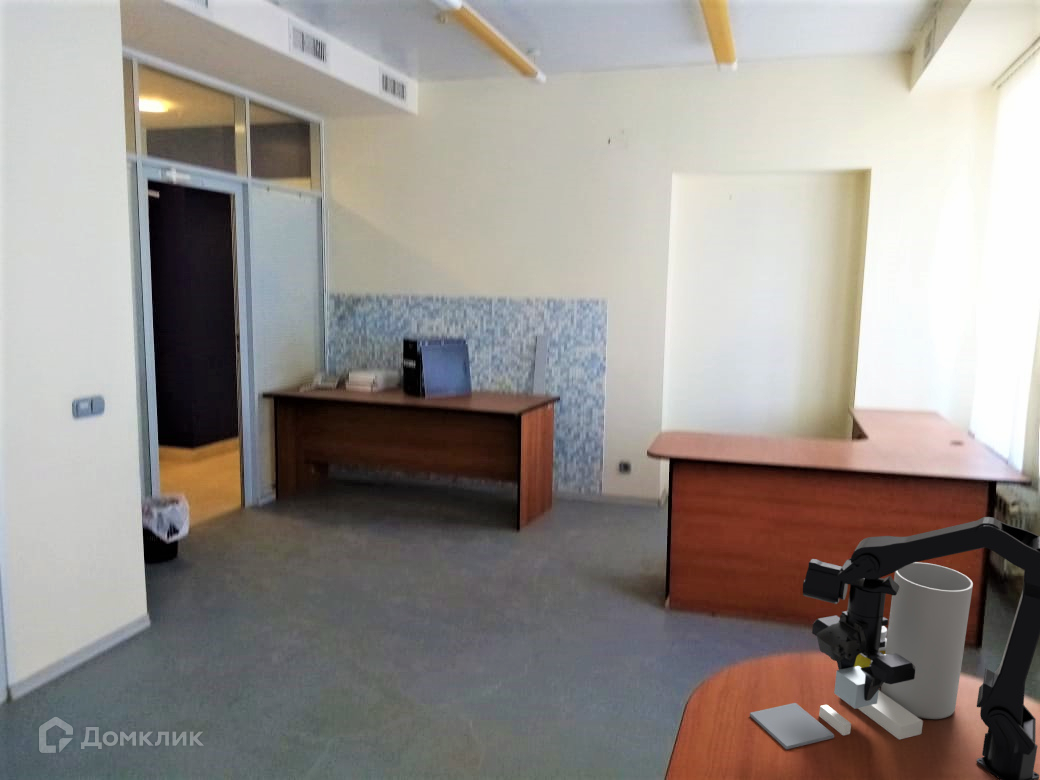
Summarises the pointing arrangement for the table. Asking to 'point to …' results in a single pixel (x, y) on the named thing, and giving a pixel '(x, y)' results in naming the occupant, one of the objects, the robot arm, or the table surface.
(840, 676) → the pale blue cube
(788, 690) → the table surface
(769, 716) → the mat
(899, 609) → the cylinder vase
